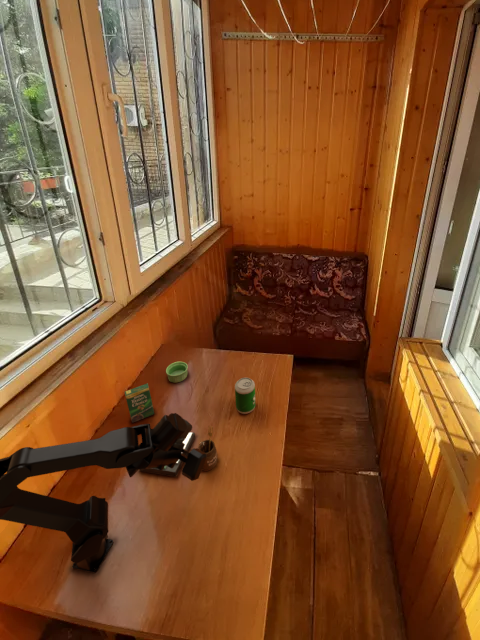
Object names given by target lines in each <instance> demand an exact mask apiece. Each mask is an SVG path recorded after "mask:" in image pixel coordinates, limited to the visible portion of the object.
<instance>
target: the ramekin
mask: <svg viewBox="0 0 480 640" xmlns="http://www.w3.org/2000/svg"><path fill="white" fill-rule="evenodd" d="M188 368H189V366H188V364H187V363H186V362H184V361H175V362H172V363H170V364H169V365H168V366H167V367H166V369H165V374H166V376H167V379H168V381H169V382H170V383H176V384H177V383H180V382H182V381H184V380H185V379H187V377H188Z"/></svg>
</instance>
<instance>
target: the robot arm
mask: <svg viewBox="0 0 480 640" xmlns="http://www.w3.org/2000/svg"><path fill="white" fill-rule="evenodd" d="M192 430H193V425H192V424H191V423H190V422H189V421H188V420H186V419H185V418H183V416H181V415H180V414H178V413H177V412H174V413H173V412H171V413H170V414H168V415H167V414H164V415H163V416H162V417H161V418H160V420H159V421H158V423H156V425H155V426H154V427H153V428H152V427H151V423H144V424H138V425H134V426H125V427H122V428H118V429H113V430H110V431H108V432H107V433H105V434H104V435H102V436H100V437H98V438H94V439H89V440H83V441H82V440H81V441H75V442H68V443H62V444H55V445H49V446H41V447H35V448H33V447H30V446H26V447H21V448H19V449H17V450H16V451H14V453H11V454H10V455H9V456H6V457H3V458H0V520H2V521H7V522H12V523H17V524H22V525H28V526H32V527H37V528H42V529H48V530H52V531H57V532H61V533H62V532H63V533H65V534H66V536H67V537H68V538H69V540H70V541H71V542H72V544H71V545H72V546H71V555H70V562H72V569H73V570H77V571H81V572H86V573H91V574H96V573H98V571H99V570H100V568H101V566H102V565H103V563H104V561H105V559H106V557H107V555H108V553H109V552H110V550H111V548H112V546H113V544H114V539H111V538H108V537H109V534H108V533H109V502H108V501H107V500H106V497H98V496H96V495H91V496H90V497H89V498H88V499H87V500H85V501H83V502H81V503H75V502H71V501H67V500H64V499H60V498H56V497H52V496H49V495H45V494H40V493H37V492H32V491H30V490H25V489H21V488H19V487H18V486H19V485H20V484H21V483H23V482H25V480H27V479H28V478H33V477H38V476H43V475H49V474H55V473H59V472H65V471H70V470H75V469H80V468H86V467H91V466H97V467H100V468H103V469H105V470H111V469H122V468H123V469H124V468H125V469H126V472H127V474H128V477H129V478H132V477H134V475H136V473H137V472H138V471H140V470H142V469H148V468H154V467H156V468H158V469H159V470H163V469H164V466H166V465H167V466H168V467H169V468H174V466H175V463H176V462H177V461H178V460H179V459H180V460H181V461H183V463H184V464H183V467H182V468H181V474H182V476H183V477H185V478H187V479H188V480H190V481H191V482H193V481H197V480H198V479H200V476H201V474H202V471H203V470H202V468H203V466H204V463H205V461H206V458H207V455H206V453H204V452H203V451H201V450H200V449H198V447H194V448H192V449H191V450H189V451H187V450H185V449H183V448H184V446H185V444H184V443H183V441H184V440H185V439H186V437H187V435H188V434H189V432H192ZM140 435H141V442H140V443H139V436H140Z"/></svg>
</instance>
